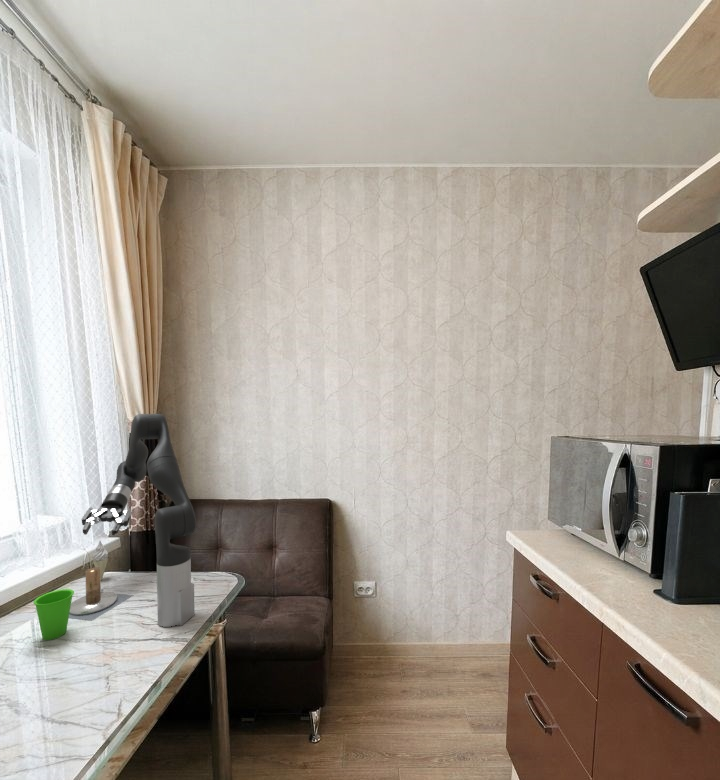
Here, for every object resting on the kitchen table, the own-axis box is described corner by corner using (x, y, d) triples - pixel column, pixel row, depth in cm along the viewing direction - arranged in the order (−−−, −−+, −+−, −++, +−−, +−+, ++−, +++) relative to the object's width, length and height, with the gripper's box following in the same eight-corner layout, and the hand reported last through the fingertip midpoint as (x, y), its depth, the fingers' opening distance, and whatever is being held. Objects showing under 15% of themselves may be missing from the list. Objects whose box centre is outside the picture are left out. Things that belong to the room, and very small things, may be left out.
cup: (39, 650, 106) (39, 607, 106) (29, 638, 111) (29, 598, 111) (79, 633, 113) (79, 594, 113) (67, 623, 118) (67, 586, 119)
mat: (133, 596, 134) (133, 595, 134) (91, 622, 119) (91, 620, 119) (95, 592, 138) (95, 591, 138) (49, 617, 122) (49, 615, 122)
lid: (126, 596, 133) (126, 563, 134) (91, 617, 121) (91, 580, 121) (94, 593, 136) (94, 560, 137) (57, 613, 124) (57, 577, 124)
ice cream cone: (89, 583, 146) (88, 541, 146) (102, 577, 150) (102, 537, 151) (98, 585, 144) (98, 543, 144) (112, 579, 149) (111, 538, 149)
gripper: (94, 490, 145) (74, 524, 131) (137, 492, 149) (121, 525, 135) (96, 506, 149) (76, 540, 134) (138, 507, 152) (122, 541, 138)
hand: (99, 533), depth 134 cm, fingers open, 8 cm apart
